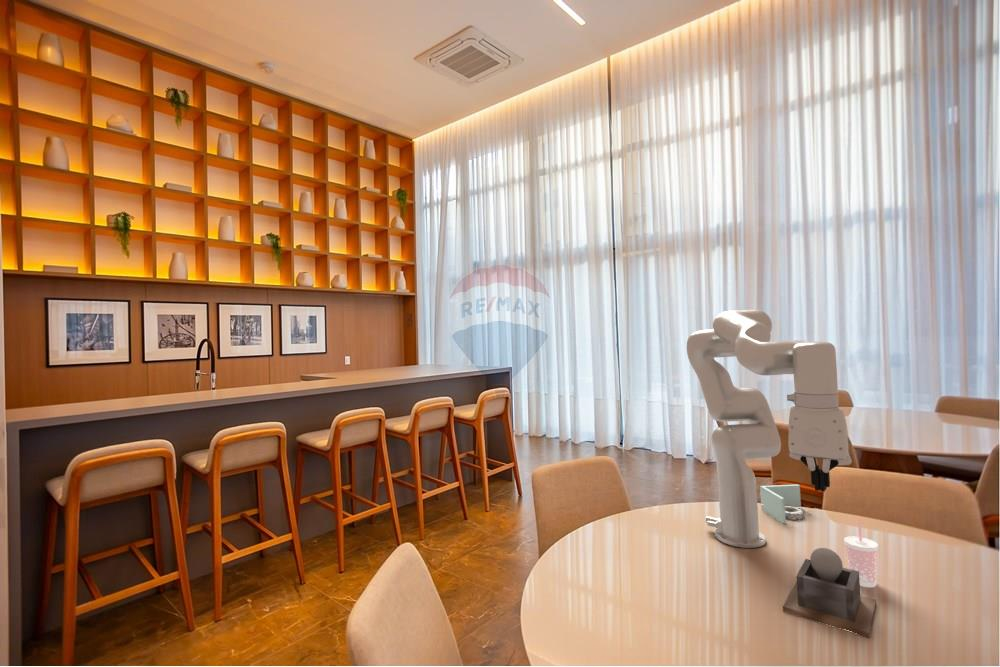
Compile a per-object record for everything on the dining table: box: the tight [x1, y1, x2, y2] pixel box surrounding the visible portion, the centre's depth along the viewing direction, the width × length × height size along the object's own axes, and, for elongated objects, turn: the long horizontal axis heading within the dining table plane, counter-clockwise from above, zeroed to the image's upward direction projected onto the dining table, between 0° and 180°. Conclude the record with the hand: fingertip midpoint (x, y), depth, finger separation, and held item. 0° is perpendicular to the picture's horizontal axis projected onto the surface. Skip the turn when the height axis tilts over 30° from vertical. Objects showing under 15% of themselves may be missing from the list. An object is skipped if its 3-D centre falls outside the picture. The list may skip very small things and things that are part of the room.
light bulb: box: [809, 547, 844, 583], centre depth 97 cm, size 5×6×10 cm
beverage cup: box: [843, 518, 879, 588], centre depth 106 cm, size 6×6×14 cm
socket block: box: [782, 558, 877, 639], centre depth 97 cm, size 14×14×7 cm
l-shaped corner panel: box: [759, 484, 804, 524], centre depth 145 cm, size 12×12×8 cm
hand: (821, 489), depth 97 cm, fingers closed
